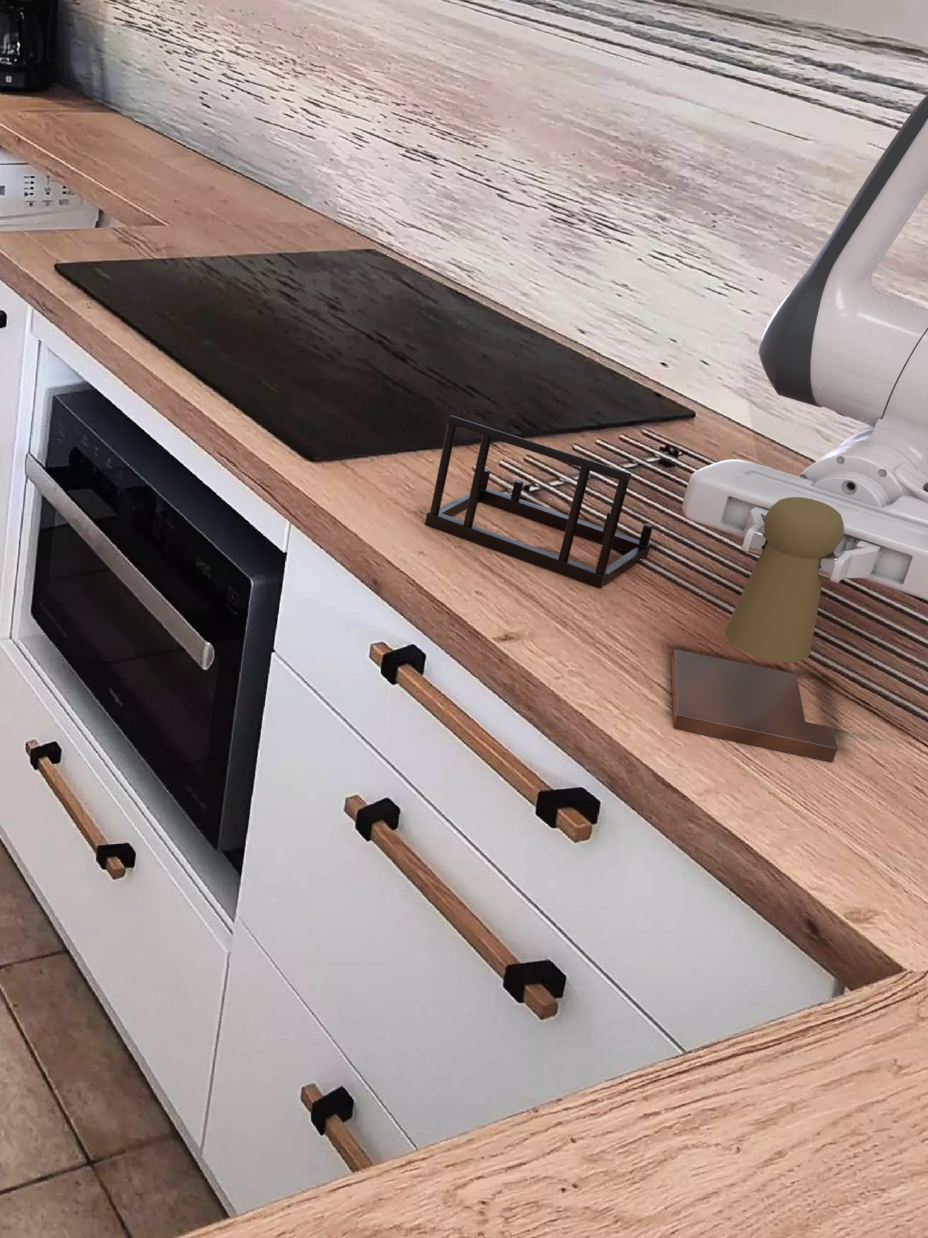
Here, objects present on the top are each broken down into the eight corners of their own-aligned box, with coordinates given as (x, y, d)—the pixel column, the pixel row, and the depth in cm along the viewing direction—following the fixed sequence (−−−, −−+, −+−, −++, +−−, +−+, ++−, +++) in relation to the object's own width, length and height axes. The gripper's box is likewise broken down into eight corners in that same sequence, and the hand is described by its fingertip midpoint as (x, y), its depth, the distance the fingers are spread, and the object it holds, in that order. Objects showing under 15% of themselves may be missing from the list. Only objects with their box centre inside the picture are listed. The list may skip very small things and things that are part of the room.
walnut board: (818, 692, 128) (823, 679, 127) (833, 762, 119) (837, 748, 118) (670, 662, 130) (674, 648, 130) (673, 728, 121) (677, 714, 120)
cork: (826, 662, 120) (874, 523, 115) (749, 662, 119) (794, 522, 114) (783, 622, 125) (826, 488, 120) (709, 622, 124) (749, 486, 119)
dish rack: (477, 496, 158) (499, 392, 153) (647, 556, 149) (677, 447, 144) (424, 524, 151) (446, 416, 146) (600, 589, 141) (629, 475, 137)
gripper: (732, 428, 132) (663, 470, 122) (1006, 511, 121) (954, 565, 111) (710, 501, 135) (641, 548, 125) (977, 589, 124) (924, 648, 114)
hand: (791, 557), depth 118 cm, fingers closed on cork, 4 cm apart
